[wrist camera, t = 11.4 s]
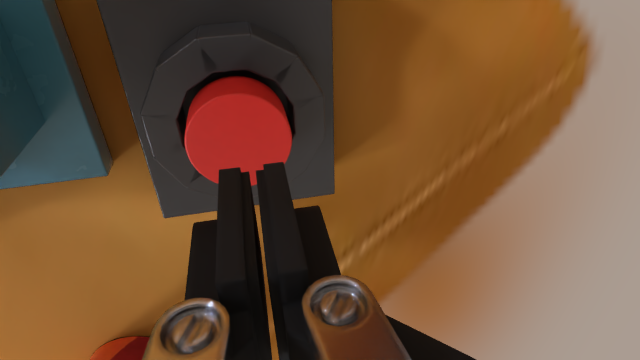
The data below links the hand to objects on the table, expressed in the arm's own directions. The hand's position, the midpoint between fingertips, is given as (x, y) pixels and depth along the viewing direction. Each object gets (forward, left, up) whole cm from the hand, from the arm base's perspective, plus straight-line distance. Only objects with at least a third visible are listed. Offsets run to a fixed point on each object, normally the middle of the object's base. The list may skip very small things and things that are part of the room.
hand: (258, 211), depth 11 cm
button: (0, 0, -5) cm, 5 cm away
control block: (0, 0, -9) cm, 9 cm away
